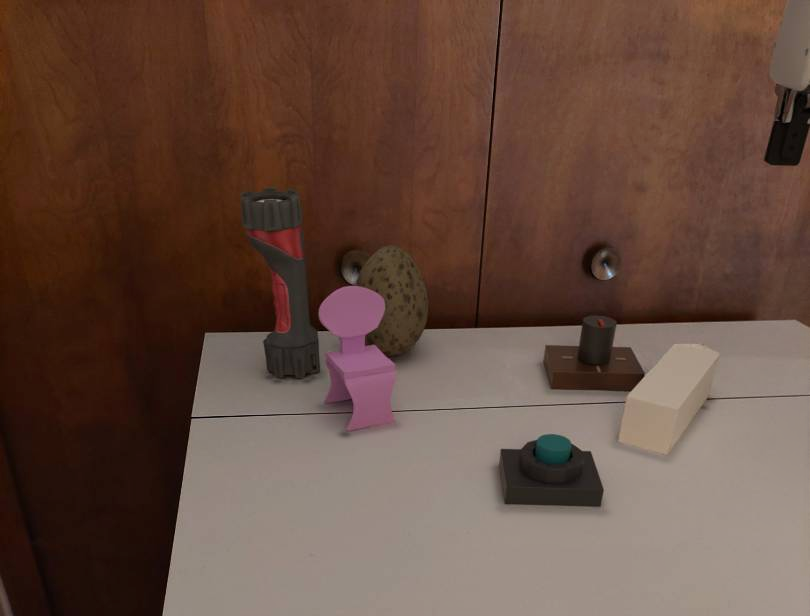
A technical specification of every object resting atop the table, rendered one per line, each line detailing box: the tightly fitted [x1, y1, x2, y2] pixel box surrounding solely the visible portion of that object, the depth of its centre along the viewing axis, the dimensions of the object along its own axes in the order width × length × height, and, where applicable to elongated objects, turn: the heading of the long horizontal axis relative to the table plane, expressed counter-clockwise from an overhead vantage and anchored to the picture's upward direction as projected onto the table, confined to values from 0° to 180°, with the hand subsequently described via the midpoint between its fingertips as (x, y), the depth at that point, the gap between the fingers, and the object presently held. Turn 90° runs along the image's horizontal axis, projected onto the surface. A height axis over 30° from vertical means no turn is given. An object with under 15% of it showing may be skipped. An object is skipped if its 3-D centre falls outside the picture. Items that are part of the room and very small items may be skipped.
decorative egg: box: [354, 245, 429, 357], centre depth 111 cm, size 11×11×15 cm
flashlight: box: [240, 186, 321, 379], centre depth 103 cm, size 8×8×23 cm
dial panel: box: [542, 344, 646, 392], centre depth 109 cm, size 12×9×3 cm
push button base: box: [498, 439, 605, 508], centre depth 85 cm, size 10×8×4 cm
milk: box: [617, 341, 721, 456], centre depth 100 cm, size 6×6×22 cm
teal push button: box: [535, 433, 572, 464], centre depth 84 cm, size 4×4×2 cm
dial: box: [577, 315, 618, 365], centre depth 107 cm, size 4×4×6 cm
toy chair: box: [317, 285, 397, 432], centre depth 95 cm, size 8×9×15 cm
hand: (780, 163), depth 85 cm, fingers closed
